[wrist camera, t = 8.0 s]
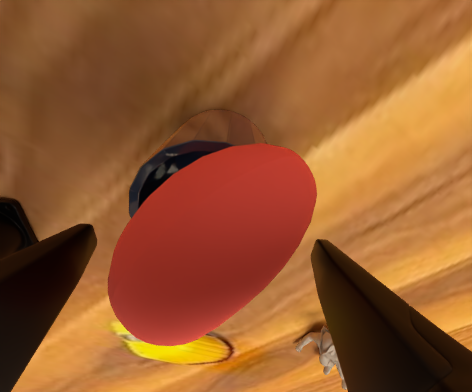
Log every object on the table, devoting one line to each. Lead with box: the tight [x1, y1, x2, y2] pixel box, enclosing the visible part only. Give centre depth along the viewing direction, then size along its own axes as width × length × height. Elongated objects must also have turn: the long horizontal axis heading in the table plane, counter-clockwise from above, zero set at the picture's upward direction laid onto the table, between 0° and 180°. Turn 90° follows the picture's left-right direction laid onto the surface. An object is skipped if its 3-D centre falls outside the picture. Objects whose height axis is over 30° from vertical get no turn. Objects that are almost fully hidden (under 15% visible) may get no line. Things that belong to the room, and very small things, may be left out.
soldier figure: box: [296, 325, 347, 390], centre depth 27 cm, size 8×5×12 cm
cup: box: [129, 110, 267, 218], centre depth 14 cm, size 7×7×8 cm
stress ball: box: [108, 143, 317, 346], centre depth 8 cm, size 5×9×6 cm, turn 131°
